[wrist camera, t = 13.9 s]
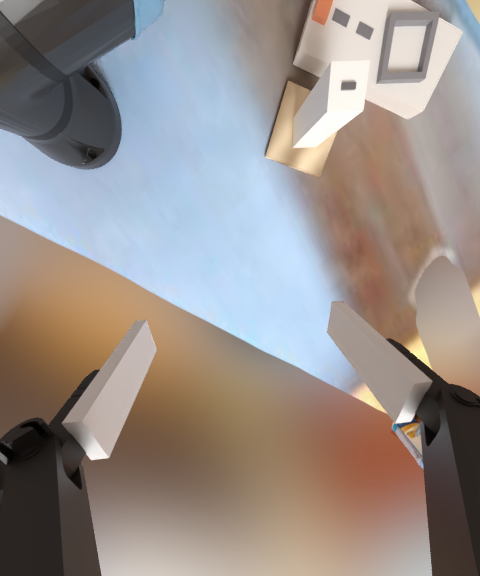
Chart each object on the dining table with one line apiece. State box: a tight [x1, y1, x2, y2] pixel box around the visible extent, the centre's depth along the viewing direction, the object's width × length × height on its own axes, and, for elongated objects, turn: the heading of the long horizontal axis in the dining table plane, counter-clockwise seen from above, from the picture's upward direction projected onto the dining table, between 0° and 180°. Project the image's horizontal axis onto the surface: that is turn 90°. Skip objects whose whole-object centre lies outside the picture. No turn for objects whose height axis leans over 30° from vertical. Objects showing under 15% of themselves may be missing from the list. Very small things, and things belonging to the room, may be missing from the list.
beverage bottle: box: [392, 417, 424, 469], centre depth 56 cm, size 8×8×20 cm
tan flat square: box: [265, 80, 337, 177], centre depth 34 cm, size 11×11×1 cm
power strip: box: [293, 0, 463, 119], centre depth 30 cm, size 23×10×4 cm, turn 73°
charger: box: [292, 60, 370, 148], centre depth 28 cm, size 4×4×13 cm
